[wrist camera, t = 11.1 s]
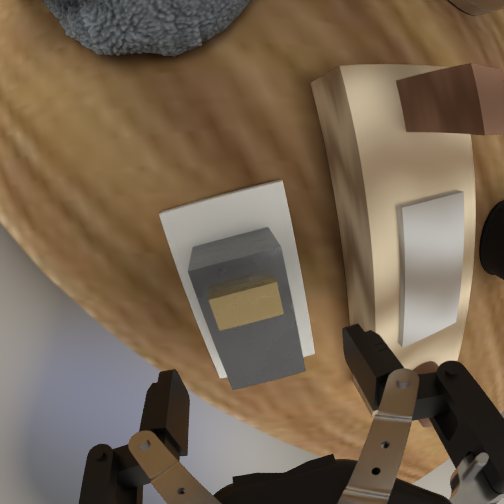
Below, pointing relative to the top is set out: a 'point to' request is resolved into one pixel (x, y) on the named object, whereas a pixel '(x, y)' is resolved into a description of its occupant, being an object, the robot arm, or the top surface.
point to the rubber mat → (230, 224)
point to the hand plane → (408, 197)
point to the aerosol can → (493, 242)
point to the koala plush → (144, 23)
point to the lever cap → (248, 307)
